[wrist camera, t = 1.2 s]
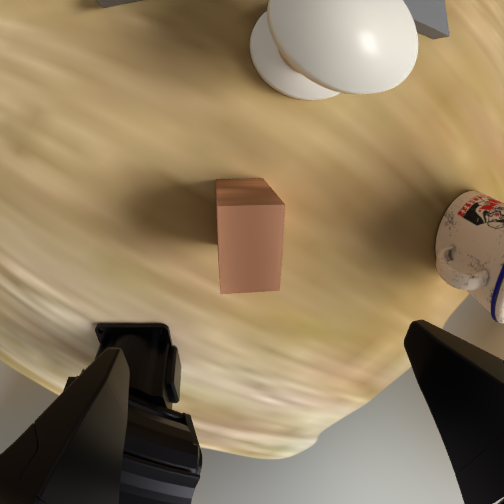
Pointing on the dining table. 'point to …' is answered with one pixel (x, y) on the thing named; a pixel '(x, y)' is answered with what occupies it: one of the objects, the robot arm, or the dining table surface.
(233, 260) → the brown rectangular block
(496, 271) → the white printed mug
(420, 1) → the slotted board
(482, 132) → the dining table surface
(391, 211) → the dining table surface
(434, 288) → the dining table surface
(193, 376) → the dining table surface
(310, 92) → the spool
